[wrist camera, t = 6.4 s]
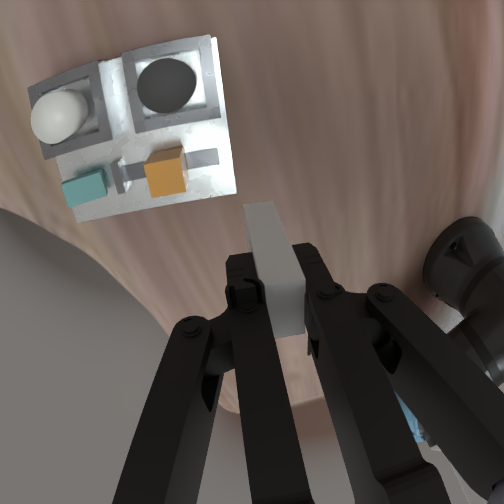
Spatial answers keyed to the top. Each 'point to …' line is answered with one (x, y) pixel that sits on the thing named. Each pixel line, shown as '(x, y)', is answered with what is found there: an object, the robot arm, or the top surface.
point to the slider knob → (166, 172)
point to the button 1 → (59, 115)
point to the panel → (144, 129)
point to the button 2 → (166, 85)
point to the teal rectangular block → (84, 188)
